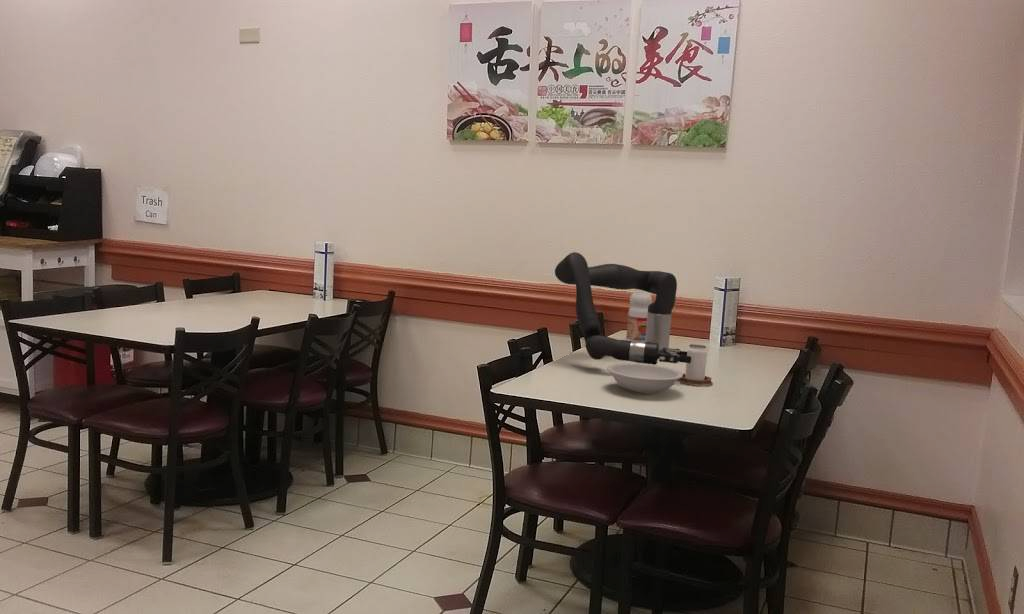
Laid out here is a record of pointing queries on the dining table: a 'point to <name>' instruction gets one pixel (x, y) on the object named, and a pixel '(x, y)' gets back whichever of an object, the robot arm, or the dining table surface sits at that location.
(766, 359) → the dining table surface
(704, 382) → the octagonal wooden coaster
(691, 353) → the can
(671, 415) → the dining table surface
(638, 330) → the fruit juice
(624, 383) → the soup bowl
